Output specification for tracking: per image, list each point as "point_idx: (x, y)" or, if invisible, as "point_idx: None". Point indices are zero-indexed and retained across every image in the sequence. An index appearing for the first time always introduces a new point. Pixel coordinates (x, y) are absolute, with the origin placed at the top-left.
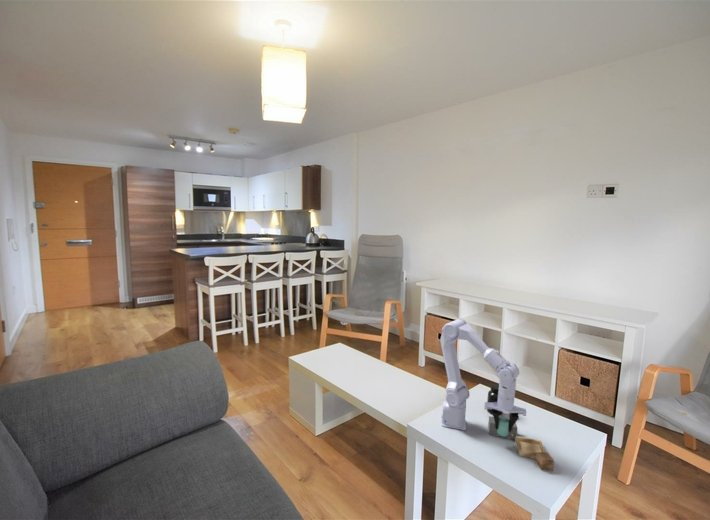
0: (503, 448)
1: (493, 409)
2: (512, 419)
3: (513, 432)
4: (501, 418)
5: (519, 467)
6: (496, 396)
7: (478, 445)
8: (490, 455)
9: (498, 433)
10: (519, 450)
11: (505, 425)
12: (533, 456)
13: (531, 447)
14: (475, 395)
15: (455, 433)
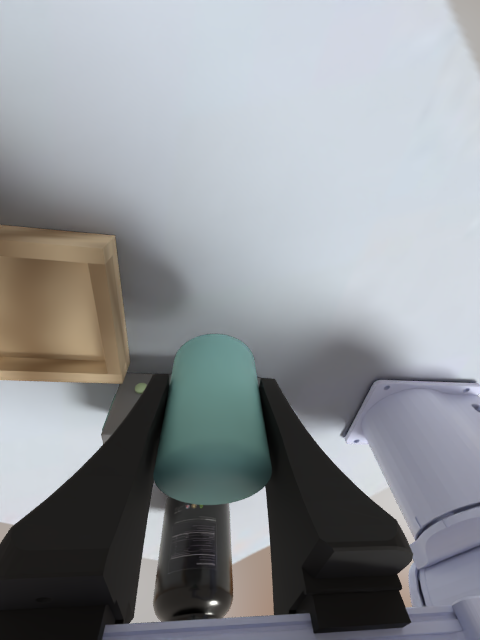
0: (208, 284)
1: (389, 625)
2: (107, 511)
3: (132, 402)
4: (233, 486)
5: (122, 73)
6: (197, 599)
7: (356, 280)
8: (316, 192)
9: (249, 352)
10: (106, 254)
11: (204, 413)
12: (10, 229)
13: (30, 317)
14: (249, 542)
15: (439, 349)
